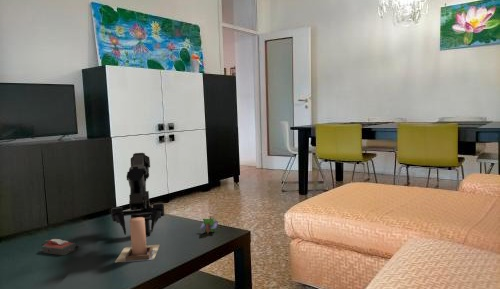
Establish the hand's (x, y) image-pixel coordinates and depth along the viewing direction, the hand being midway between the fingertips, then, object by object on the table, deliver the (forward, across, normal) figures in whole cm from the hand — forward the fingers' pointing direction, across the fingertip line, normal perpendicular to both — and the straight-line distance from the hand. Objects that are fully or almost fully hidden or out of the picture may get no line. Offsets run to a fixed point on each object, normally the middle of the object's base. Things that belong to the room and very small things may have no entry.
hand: (138, 232), depth 133 cm
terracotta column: (+8, 0, +2) cm, 8 cm away
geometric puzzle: (-5, +27, +17) cm, 32 cm away
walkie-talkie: (-7, -33, +20) cm, 39 cm away
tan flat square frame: (+6, 0, +5) cm, 8 cm away
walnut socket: (+8, 0, +2) cm, 8 cm away
